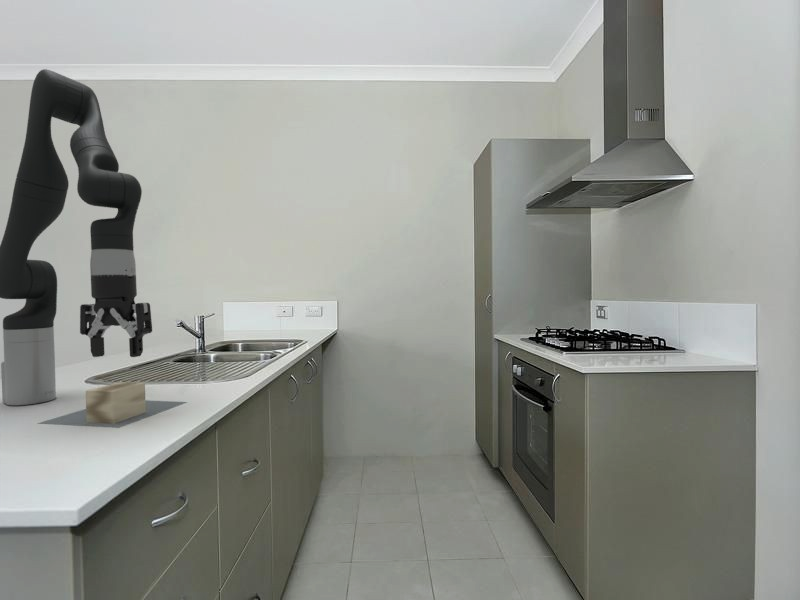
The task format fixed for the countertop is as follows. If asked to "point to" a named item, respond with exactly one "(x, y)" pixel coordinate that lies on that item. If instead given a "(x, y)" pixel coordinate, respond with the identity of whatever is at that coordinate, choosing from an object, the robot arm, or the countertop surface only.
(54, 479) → the countertop surface
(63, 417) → the grey mat
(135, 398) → the beech block
